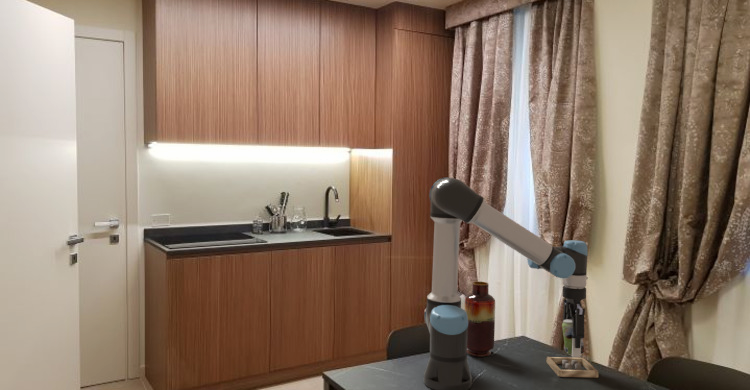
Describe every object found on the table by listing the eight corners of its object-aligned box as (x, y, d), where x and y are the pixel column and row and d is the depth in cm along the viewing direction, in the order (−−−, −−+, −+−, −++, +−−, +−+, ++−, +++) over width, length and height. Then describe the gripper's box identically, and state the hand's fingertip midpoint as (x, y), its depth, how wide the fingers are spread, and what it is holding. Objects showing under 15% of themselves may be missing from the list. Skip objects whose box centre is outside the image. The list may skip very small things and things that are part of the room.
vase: (498, 351, 200) (500, 282, 199) (487, 360, 191) (489, 287, 189) (470, 346, 206) (472, 278, 205) (458, 354, 196) (460, 283, 195)
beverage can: (585, 358, 179) (586, 323, 178) (562, 356, 180) (563, 321, 180) (582, 352, 185) (583, 318, 184) (559, 350, 186) (560, 316, 186)
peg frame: (558, 376, 176) (558, 369, 176) (546, 362, 189) (546, 355, 189) (598, 377, 176) (598, 370, 176) (583, 363, 189) (583, 356, 189)
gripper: (597, 293, 172) (594, 363, 173) (575, 280, 191) (573, 344, 192) (573, 292, 172) (571, 363, 173) (554, 280, 191) (552, 343, 192)
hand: (572, 353), depth 183 cm, fingers closed on beverage can, 6 cm apart
